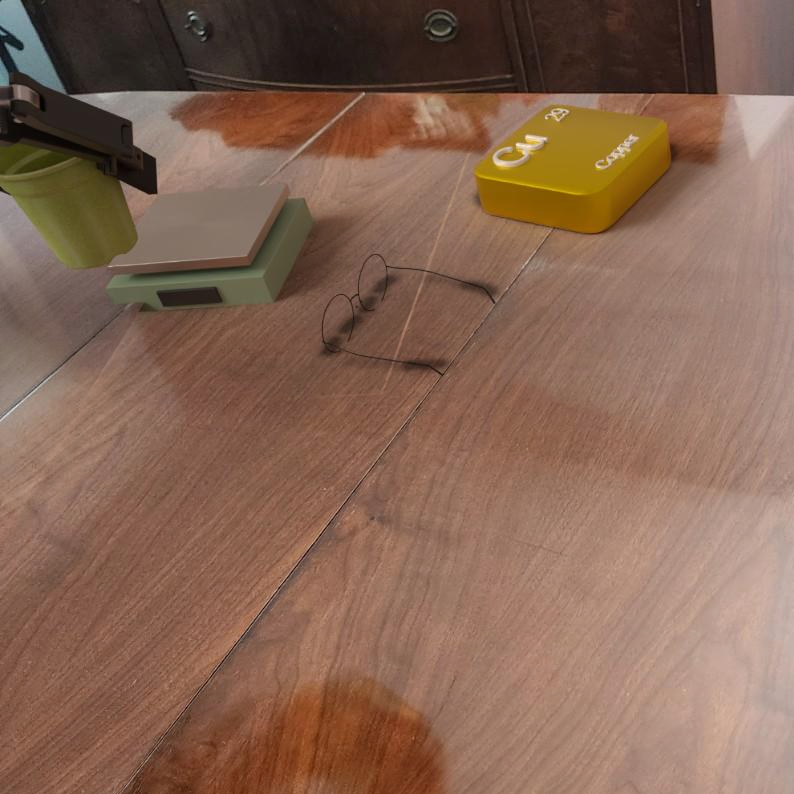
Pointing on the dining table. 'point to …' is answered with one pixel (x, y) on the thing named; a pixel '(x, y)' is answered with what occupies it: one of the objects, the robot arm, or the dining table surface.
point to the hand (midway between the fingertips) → (93, 181)
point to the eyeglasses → (381, 300)
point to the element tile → (574, 168)
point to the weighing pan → (203, 229)
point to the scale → (224, 272)
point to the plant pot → (69, 204)
